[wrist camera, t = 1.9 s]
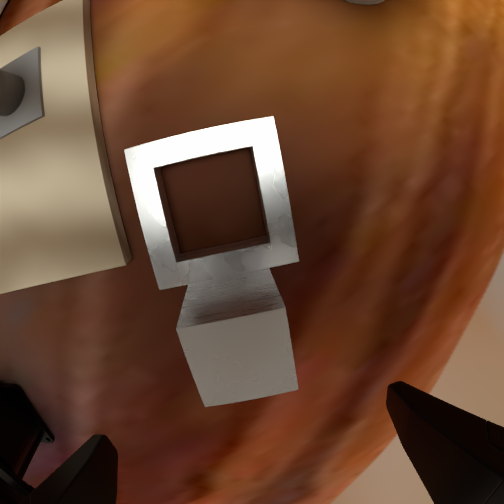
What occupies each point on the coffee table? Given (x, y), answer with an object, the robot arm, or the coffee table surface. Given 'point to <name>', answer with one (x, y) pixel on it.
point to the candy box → (2, 5)
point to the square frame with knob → (224, 267)
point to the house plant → (365, 1)
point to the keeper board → (54, 155)
